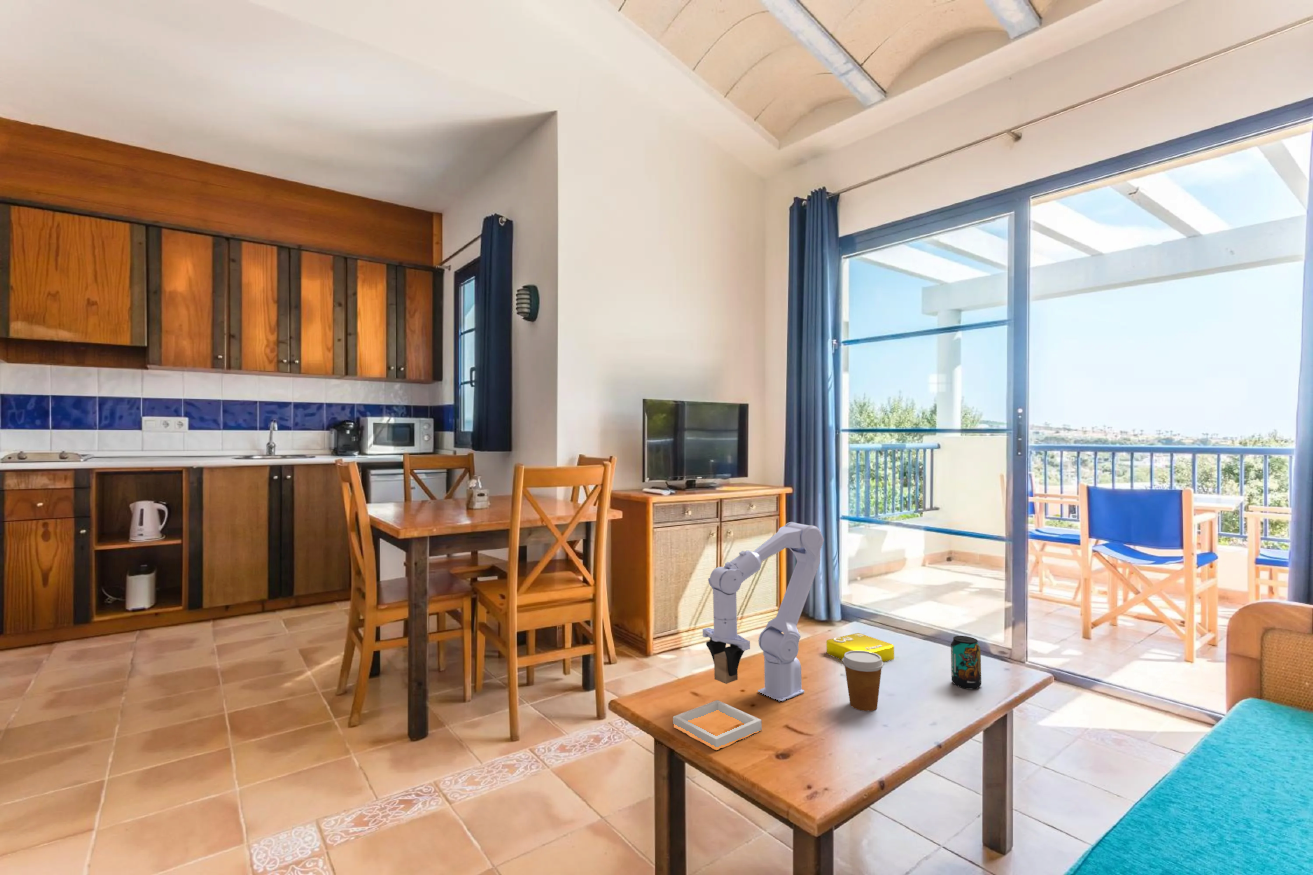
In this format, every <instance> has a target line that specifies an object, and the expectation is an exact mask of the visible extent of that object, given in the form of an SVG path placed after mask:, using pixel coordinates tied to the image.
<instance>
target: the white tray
mask: <svg viewBox="0 0 1313 875" xmlns="http://www.w3.org/2000/svg"><path fill="white" fill-rule="evenodd" d="M716 710H719V711H720V712H722V713H725V714H726V715H728V716H730V717H733V718H735V719H737V720H739V721H741V722H742V723H744V725H741V726H739V727H737V728H734V729H732V730H730V731H727V732H725V733H722V734H720V735H718V736H715V735H713V734H711V733H709V732H707V731H706V730H704V729H702V728H700V727H698V726H696V725H694V724H692V723H690V722H688V720H692V719H694V718H698V717H701V716H704V715H706V714H708V713H711V712H714V711H716ZM762 723H763V722H762V719H761V718H758V717H757V716H754V715H752V714H749V713H747V712H745V711H743V710H740V709H738V708H736V707H734V706H732V705H730V704H727V703H725V702H723V701H720V700H719V699H716V700H714V701H711V702H709V703H706V704H703V705H700V706H697V707H695V708H692V709H689V710H687V711H684V712H682V713H679V714H677V715H674V716H673V717H672V725H673V724H675V725H677V726H678V727H681V728H683V729H685V730H686V731H689V732H690V733H692V734H694V735H695V736H697V737H698V738H701V739H702V740H704V741H706V742H708V743H710V744H711V745H714V746H715V747H719V746H721V745H725V744H727V743H729V742H732V741H735V740H737V739H739V738H742V737H745V736H747V735H749V734H752V733H754V732H757V731H760V730H763V729H762Z"/></svg>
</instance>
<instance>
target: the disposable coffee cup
mask: <svg viewBox="0 0 1313 875" xmlns="http://www.w3.org/2000/svg"><path fill="white" fill-rule="evenodd" d="M841 661H842V663H843V665H844V669H845V670H844V671H845V678H846V684H847V691H848V696H849V697H848V699H849V705H850V706H851V708H853V709H855V710H858V711H862V712H872V711H875V710H877V709H878V703H879V694H880V684H881V675H882V670H883V667H884V663H885V662H882V659H881V656H879V655H878V654H875V653H872V652H868V651H857V650H856V651H849V652H846V653H845V654H844V658H843V659H842V660H841Z"/></svg>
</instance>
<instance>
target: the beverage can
mask: <svg viewBox="0 0 1313 875" xmlns="http://www.w3.org/2000/svg"><path fill="white" fill-rule="evenodd" d="M952 639H953V640H952V642H951V643H950V671H951V682H952V683H953V684H954V685H955V686H957V687H959V688H961V689H965V690H976V689H979V688H980V686H982V658H981V657H982V654H981V653H982V652H981V651H982V650H981V646H980V644H979V643H978V641H979V640H978V639H977V638H975V637H972V636H966V635H955V636H953V638H952Z"/></svg>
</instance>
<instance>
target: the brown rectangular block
mask: <svg viewBox="0 0 1313 875" xmlns="http://www.w3.org/2000/svg"><path fill="white" fill-rule="evenodd" d="M713 664H714V665H713V666H714V667H713V669H714V670H713V671H714V674H713V675H714V680H716V681H719V682H720V683H723V684H726V685H727V684H730V683H733V682H735V681H738V678H739V677H738V676H739V675H738V674H739V673H738V672H737V674H736V675H733V676H729V673H728V663H727V657H726V654H725V651H724V652H721V653H718V654H715V655H714V661H713Z"/></svg>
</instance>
